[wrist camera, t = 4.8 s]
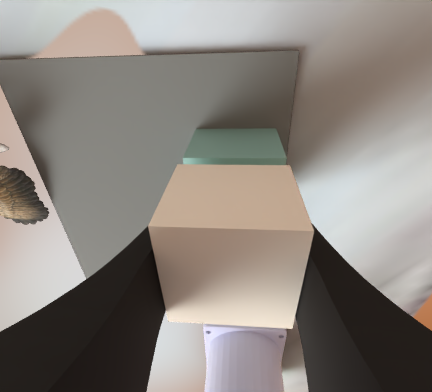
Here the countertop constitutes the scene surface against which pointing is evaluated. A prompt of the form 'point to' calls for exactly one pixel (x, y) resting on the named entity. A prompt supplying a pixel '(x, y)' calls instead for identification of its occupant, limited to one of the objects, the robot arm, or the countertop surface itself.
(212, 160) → the teal brick
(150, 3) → the countertop surface
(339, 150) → the countertop surface
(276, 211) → the cream brick
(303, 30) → the countertop surface
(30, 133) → the build mat
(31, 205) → the eagle figurine
